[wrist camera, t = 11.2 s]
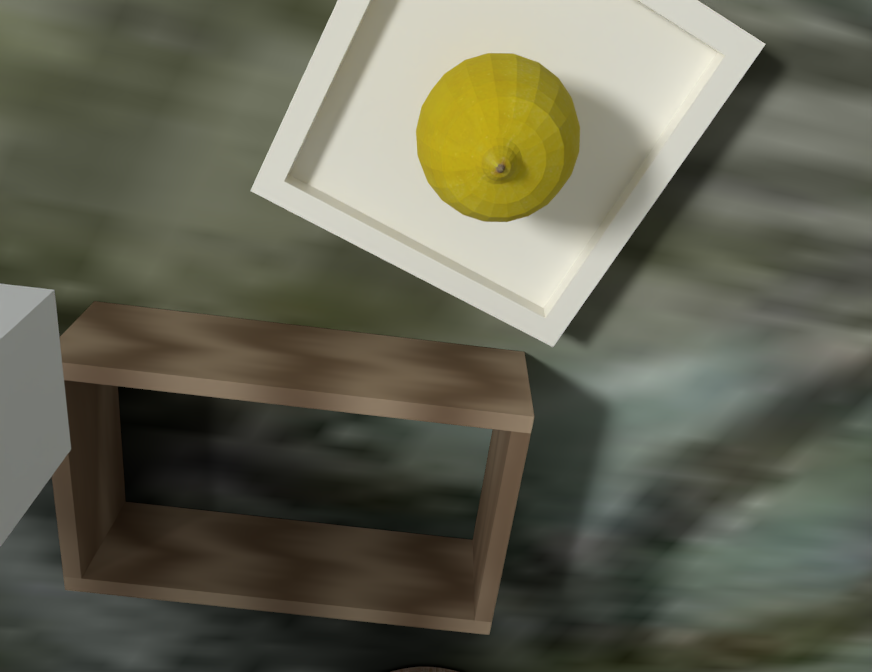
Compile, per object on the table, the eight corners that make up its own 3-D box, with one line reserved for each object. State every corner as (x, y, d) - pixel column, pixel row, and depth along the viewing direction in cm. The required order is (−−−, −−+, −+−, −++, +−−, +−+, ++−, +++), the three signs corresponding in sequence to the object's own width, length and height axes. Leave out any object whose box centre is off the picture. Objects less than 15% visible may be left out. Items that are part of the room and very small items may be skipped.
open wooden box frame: (110, 512, 42) (65, 589, 37) (94, 301, 37) (38, 359, 32) (485, 553, 43) (489, 634, 38) (524, 351, 37) (534, 416, 32)
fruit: (505, 211, 33) (518, 291, 26) (392, 131, 32) (373, 191, 24) (595, 98, 31) (636, 150, 24) (478, 6, 29) (485, 33, 22)
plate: (262, 175, 34) (250, 190, 32) (422, -172, 28) (419, -179, 26) (547, 324, 36) (552, 347, 35) (746, 36, 31) (765, 44, 29)
